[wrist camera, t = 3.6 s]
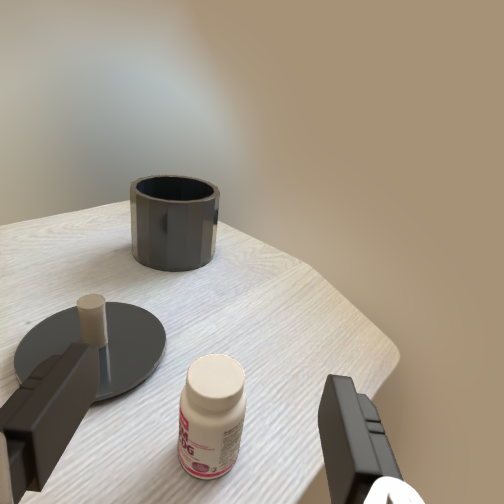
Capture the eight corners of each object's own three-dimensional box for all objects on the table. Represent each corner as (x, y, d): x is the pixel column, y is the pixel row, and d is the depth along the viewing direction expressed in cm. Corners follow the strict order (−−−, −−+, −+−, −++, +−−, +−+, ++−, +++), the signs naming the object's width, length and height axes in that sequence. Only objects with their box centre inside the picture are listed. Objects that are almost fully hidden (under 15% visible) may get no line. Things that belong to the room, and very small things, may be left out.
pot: (209, 234, 64) (213, 177, 59) (218, 271, 53) (225, 204, 48) (135, 233, 60) (133, 172, 56) (129, 271, 50) (126, 200, 45)
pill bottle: (164, 455, 27) (165, 376, 24) (205, 414, 31) (212, 339, 27) (211, 496, 25) (221, 416, 21) (249, 446, 29) (264, 371, 25)
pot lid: (165, 308, 43) (166, 264, 41) (166, 400, 32) (167, 348, 29) (40, 312, 40) (32, 264, 37) (-10, 417, 28) (-29, 359, 26)
